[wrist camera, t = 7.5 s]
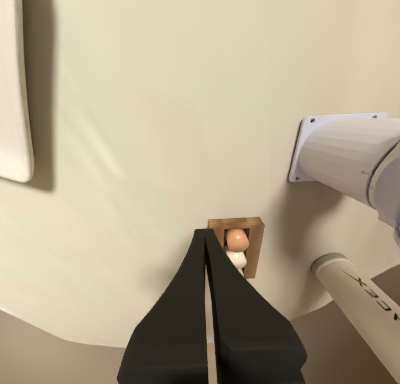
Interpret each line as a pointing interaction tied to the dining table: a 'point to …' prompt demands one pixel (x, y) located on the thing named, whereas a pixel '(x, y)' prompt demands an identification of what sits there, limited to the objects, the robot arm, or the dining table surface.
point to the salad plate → (14, 97)
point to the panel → (253, 234)
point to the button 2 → (236, 240)
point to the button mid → (236, 257)
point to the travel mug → (363, 307)
